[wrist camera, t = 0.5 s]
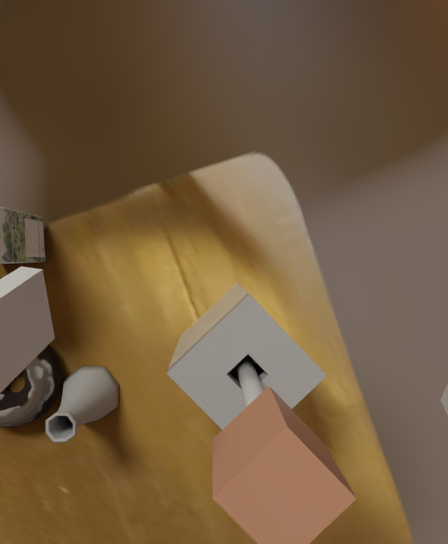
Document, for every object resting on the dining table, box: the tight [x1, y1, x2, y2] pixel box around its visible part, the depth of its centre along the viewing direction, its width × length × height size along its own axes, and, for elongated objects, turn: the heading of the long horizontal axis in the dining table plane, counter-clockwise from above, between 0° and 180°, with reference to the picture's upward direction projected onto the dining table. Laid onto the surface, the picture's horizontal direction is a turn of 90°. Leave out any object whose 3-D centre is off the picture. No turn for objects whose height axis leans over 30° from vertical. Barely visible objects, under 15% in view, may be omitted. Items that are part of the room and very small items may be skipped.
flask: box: [46, 366, 118, 443], centre depth 42 cm, size 7×7×10 cm
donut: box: [0, 346, 61, 427], centre depth 45 cm, size 12×12×4 cm
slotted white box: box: [167, 282, 327, 430], centre depth 40 cm, size 10×10×16 cm
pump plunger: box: [212, 355, 357, 544], centre depth 26 cm, size 4×4×20 cm
